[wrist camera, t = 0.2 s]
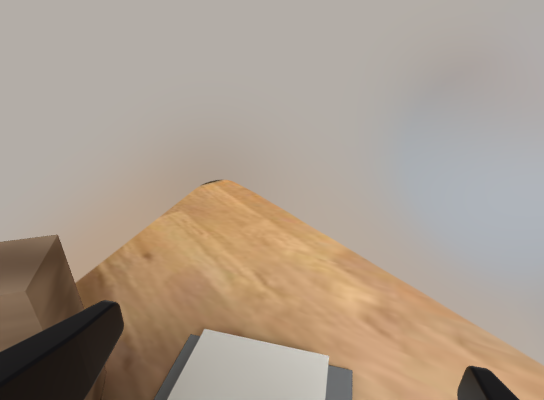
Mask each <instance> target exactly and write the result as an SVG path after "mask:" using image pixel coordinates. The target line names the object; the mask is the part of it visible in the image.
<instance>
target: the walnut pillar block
mask: <svg viewBox="0 0 544 400" xmlns="http://www.w3.org/2000/svg"><path fill="white" fill-rule="evenodd" d="M83 310H84V307H83V304H82V301H81V299H80V296H79V293H78V290H77V287H76V285H75V282H74V279H73V276H72V273H71V270H70V268H69V265H68V262H67V259H66V256H65V254H64V251H63V248H62V245H61V242H60V240H59V237H58V235H51V236H43V237H36V238H28V239H20V240H12V241H4V242H0V352H1V351H3V350H5V349H7V348H9V347H11V346H13V345H15V344H17V343H19V342H21V341H23V340H25V339H27V338H29V337H31V336H33V335H35V334H37V333H39V332H41V331H43V330H45V329H47V328H49V327H51V326H53V325H55V324H57V323H59V322H61V321H63V320H65V319H67V318H69V317H71V316H73V315H75V314H77V313H79V312H81V311H83ZM105 376H106V369H105V366H104V367H103V369H102V370H101V372H100V374H99V376H98V378H97V379H96V381H95V383H94V385H93V386H92V388H91V390H90V391H89V393H88V394H87V396H86V397H85V399H84V400H101V397H102V392H103V387H104V382H105Z"/></svg>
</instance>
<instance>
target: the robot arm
mask: <svg viewBox="0 0 544 400" xmlns="http://www.w3.org/2000/svg"><path fill="white" fill-rule="evenodd" d="M123 328H124V322H123V318H122V313H121V309H120V305H119V304H118V303H117V302H113V301H107V300H104V301H101V302H99V303H97V304H95V305H93V306H91V307H89V308H87V309H85V310H83V311H81V312H79V313H77V314H75V315H73V316H71V317H69V318H67V319H65V320H63V321H61V322H59V323H57V324H55V325H53V326H51V327H49V328H47V329H45V330H43V331H41V332H39V333H37V334H35V335H33V336H31V337H29V338H27V339H25V340H23V341H21V342H19V343H17V344H15V345H13V346H11V347H9V348H7V349H5V350H3V351H1V352H0V400H84V399H85V397H86V396H87V394H88V393H89V391H90V390H91V388H92V386H93V385H94V383H95V381H96V379H97V378H98V376H99V374H100V372H101V370H102V369H103V367H104V365H105V363H106V361H107V359H108V358H109V356H110V354H111V352H112V350H113V348H114V347H115V345H116V343H117V341H118V339H119V337H120V335H121V334H122V331H123ZM457 396H458V400H519V399H518V398H517V397H516V396H515V395H514V394H513V393H512V392H511V391H510V390H509V389H508V388H507V387H506V386H505V385H504V384H503V383H502V382H501V381H500V380H499V379H498V378H497V377H496V376H495V375H494V374H493V373H492V372H491V371H490V370H488V369H486V368H481V367H475V366H468V367H467V368H466V370H465V372H464V375H463V377H462V380H461V382H460V385H459V387H458V393H457Z"/></svg>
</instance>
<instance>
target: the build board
mask: <svg viewBox="0 0 544 400" xmlns="http://www.w3.org/2000/svg"><path fill="white" fill-rule="evenodd" d="M328 362H329V356H327V355H323V354H318V353H313V352H309V351H304V350H300V349H295V348H290V347H286V346H281V345H277V344H272V343H268V342H263V341H258V340H254V339H249V338H245V337H240V336H235V335H231V334H226V333H222V332H217V331H213V330H208V329H204V331H203V333H202V335H201V336H196V335H192V334H191V335H190V337H189V338H188V340H187V342H186V344H185V345H184V347H183V349H182V351H181V352H180V354H179V356H178V358H177V359H176V361H175V363H174V365H173V366H172V368H171V370H170V372H169V374H168V375H167V377H166V379H165V381H164V382H163V384H162V386H161V388H160V389H159V391H158V393H157V395H156V396H155V398H154V400H352V370H348V369H343V368H339V367H334V366H330V365H328Z"/></svg>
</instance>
